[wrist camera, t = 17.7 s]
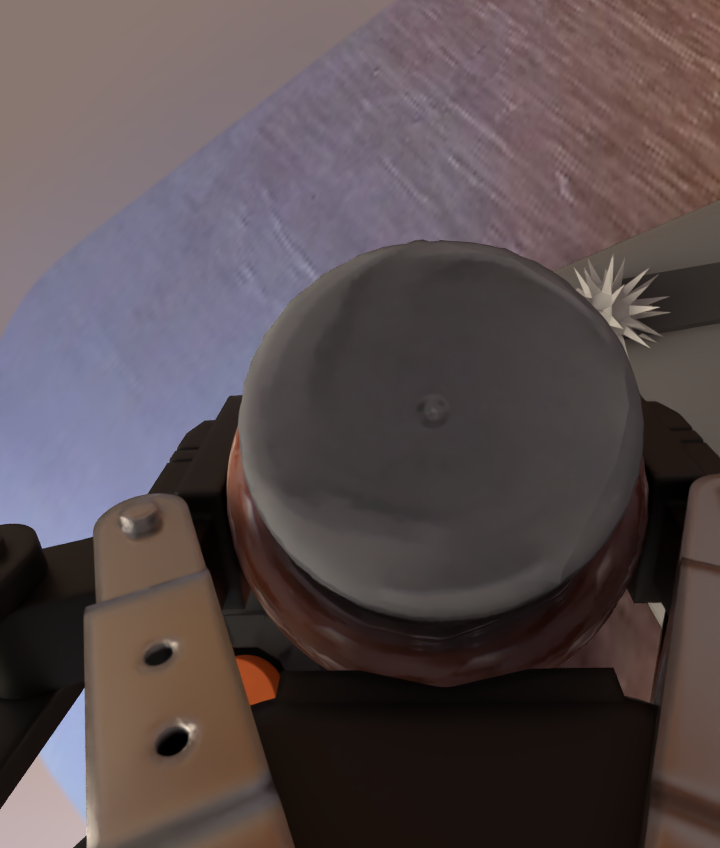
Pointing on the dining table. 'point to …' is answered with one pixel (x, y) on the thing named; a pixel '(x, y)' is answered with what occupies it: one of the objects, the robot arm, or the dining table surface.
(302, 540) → the supplement bottle
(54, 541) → the dining table surface
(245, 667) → the button
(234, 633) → the kitchen scale
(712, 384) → the grey spiked board
